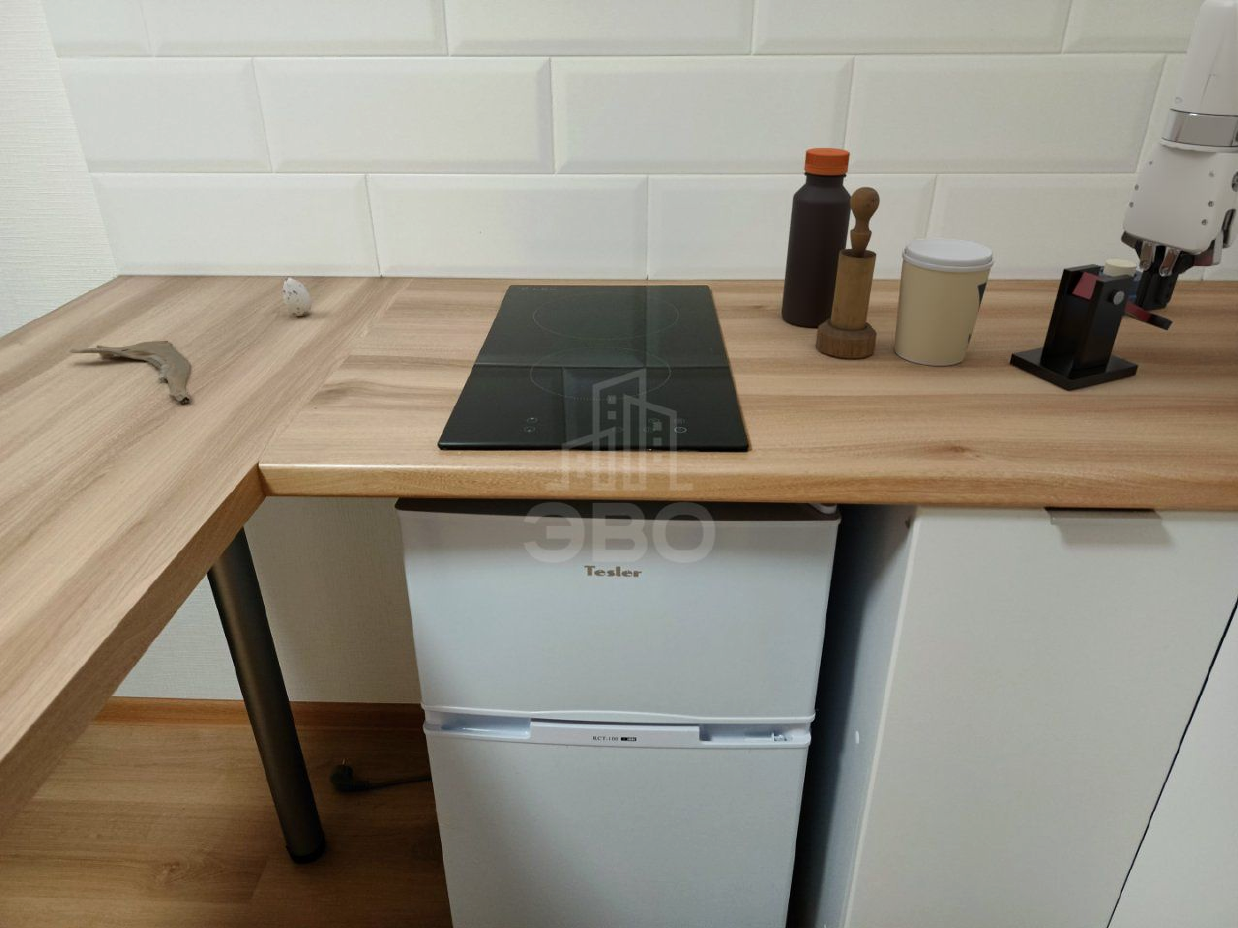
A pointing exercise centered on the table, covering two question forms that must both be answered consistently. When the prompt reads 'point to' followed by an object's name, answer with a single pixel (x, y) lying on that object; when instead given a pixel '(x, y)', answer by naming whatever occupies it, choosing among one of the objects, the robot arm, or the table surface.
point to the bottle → (816, 238)
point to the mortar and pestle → (853, 288)
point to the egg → (296, 297)
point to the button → (1119, 267)
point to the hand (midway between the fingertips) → (1149, 307)
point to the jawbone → (154, 362)
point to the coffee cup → (940, 299)
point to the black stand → (1082, 334)
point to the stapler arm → (1131, 310)
